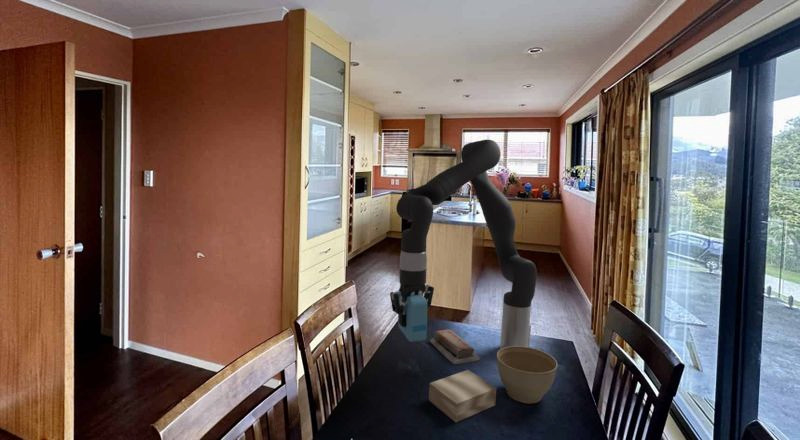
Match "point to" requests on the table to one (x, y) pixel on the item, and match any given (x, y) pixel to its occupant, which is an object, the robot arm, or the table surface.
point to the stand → (462, 395)
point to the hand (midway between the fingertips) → (411, 323)
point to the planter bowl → (526, 372)
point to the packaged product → (453, 347)
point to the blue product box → (415, 318)
